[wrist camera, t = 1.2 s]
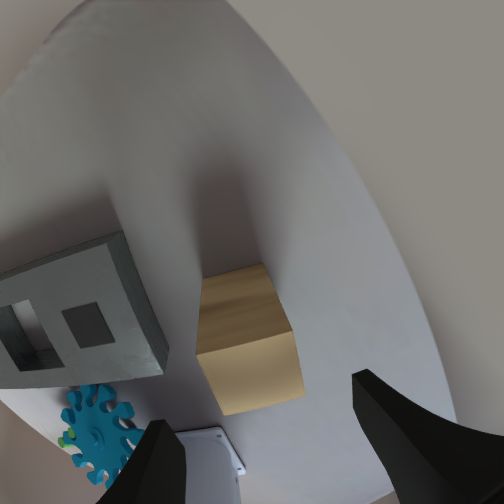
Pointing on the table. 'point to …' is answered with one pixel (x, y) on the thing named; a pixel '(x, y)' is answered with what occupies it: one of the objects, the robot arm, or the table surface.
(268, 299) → the peg
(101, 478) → the gear
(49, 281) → the grey holed base
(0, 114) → the table surface
